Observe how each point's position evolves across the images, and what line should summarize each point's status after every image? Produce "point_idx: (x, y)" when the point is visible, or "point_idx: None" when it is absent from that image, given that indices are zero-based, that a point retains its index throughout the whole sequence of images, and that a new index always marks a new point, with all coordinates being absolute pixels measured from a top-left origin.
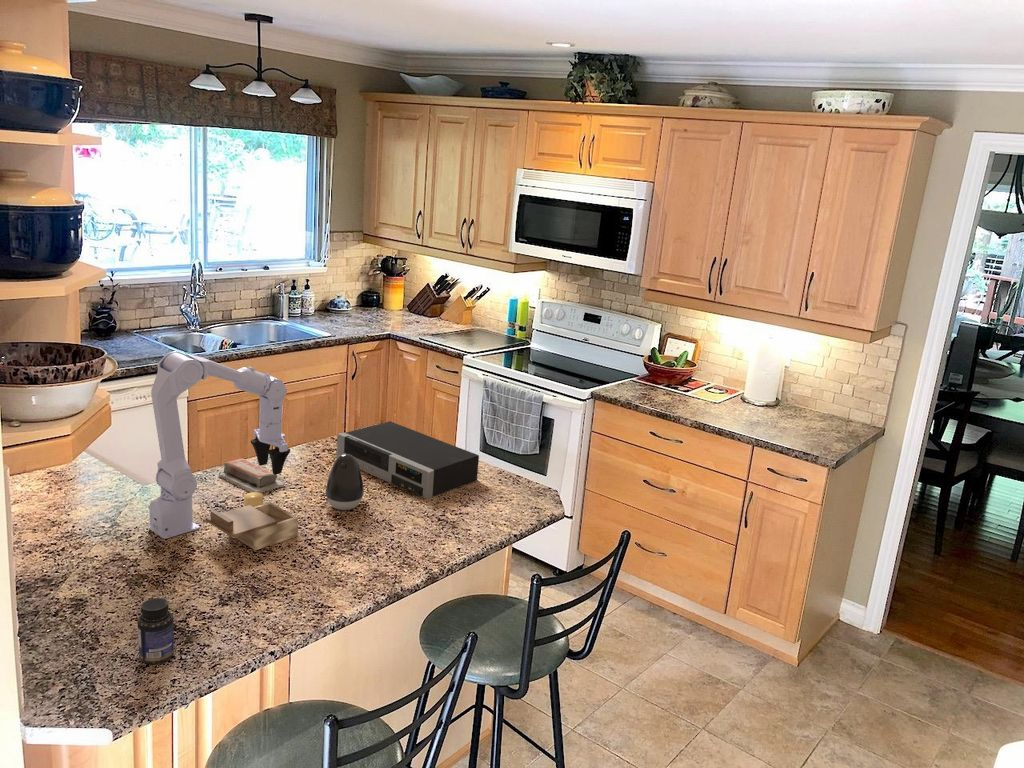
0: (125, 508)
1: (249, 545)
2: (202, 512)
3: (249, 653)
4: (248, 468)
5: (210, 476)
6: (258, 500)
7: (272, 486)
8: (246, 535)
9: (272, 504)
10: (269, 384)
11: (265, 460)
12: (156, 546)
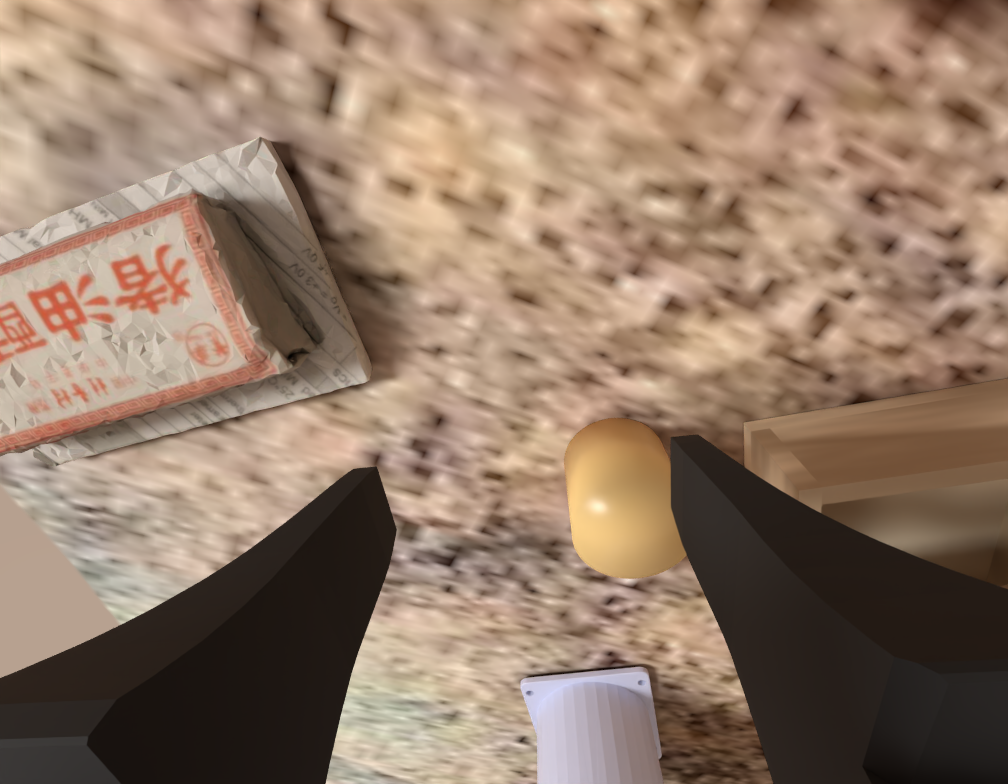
0: (356, 762)
1: None
2: (492, 618)
3: None
4: (88, 382)
5: (63, 484)
6: None
7: (301, 250)
8: None
9: (842, 491)
10: None
11: (366, 511)
12: (691, 770)
